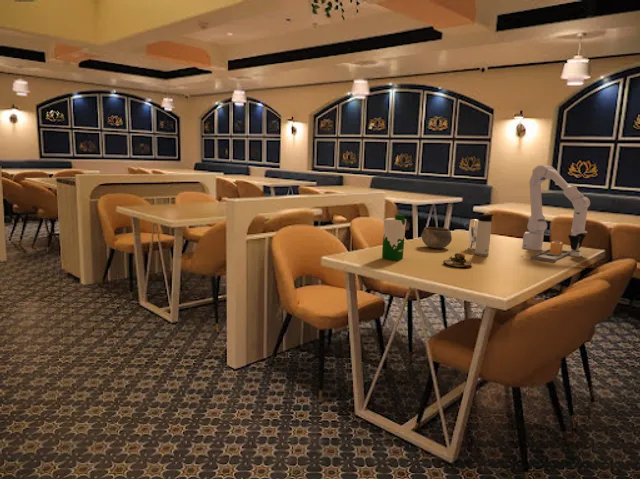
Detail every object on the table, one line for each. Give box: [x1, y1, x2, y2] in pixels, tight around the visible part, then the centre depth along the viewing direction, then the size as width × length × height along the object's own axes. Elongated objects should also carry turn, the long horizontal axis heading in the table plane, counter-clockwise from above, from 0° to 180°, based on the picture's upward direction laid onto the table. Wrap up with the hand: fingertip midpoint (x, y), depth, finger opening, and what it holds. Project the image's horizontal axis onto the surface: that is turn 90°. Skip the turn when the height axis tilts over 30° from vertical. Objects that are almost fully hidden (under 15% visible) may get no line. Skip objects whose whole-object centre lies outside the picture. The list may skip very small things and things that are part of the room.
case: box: [539, 248, 569, 259], centre depth 248 cm, size 10×17×2 cm, turn 139°
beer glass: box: [467, 218, 479, 251], centre depth 257 cm, size 7×7×15 cm
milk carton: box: [381, 214, 407, 262], centre depth 221 cm, size 9×9×20 cm
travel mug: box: [474, 213, 494, 257], centre depth 239 cm, size 6×7×20 cm
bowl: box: [420, 226, 453, 250], centre depth 255 cm, size 14×15×10 cm
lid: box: [531, 252, 562, 263], centre depth 237 cm, size 10×13×2 cm
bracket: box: [567, 248, 583, 258], centre depth 247 cm, size 5×5×3 cm
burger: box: [442, 250, 473, 270], centre depth 214 cm, size 12×12×8 cm
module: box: [549, 240, 564, 255], centre depth 248 cm, size 4×4×7 cm
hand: (575, 248), depth 246 cm, fingers open, 7 cm apart
